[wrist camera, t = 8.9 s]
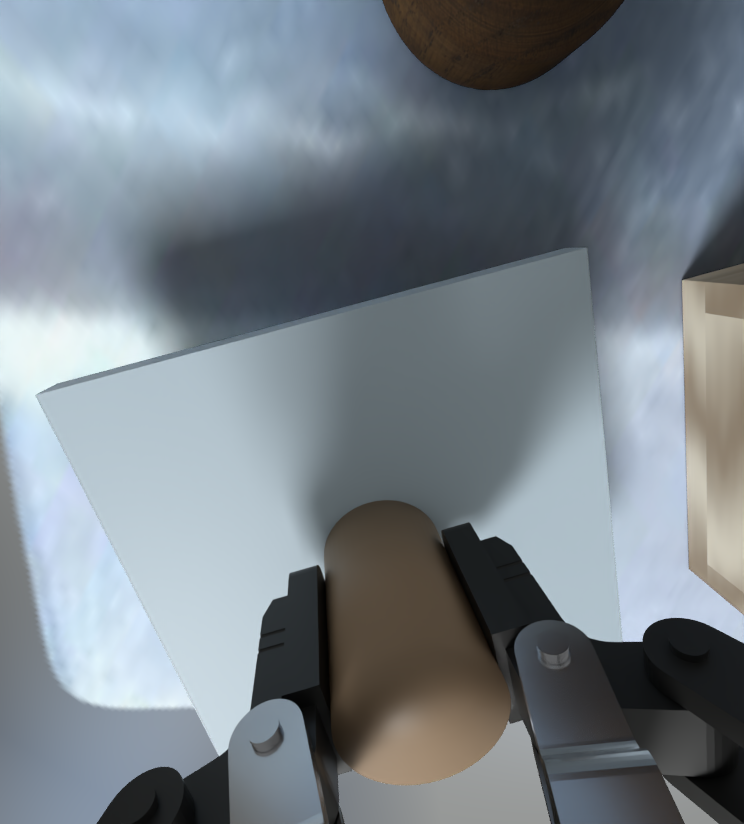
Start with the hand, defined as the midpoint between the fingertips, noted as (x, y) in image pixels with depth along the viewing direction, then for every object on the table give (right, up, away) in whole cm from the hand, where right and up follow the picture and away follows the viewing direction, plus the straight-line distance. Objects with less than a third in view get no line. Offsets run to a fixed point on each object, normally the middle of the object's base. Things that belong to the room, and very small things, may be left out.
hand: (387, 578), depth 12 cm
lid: (0, +1, +2) cm, 2 cm away
